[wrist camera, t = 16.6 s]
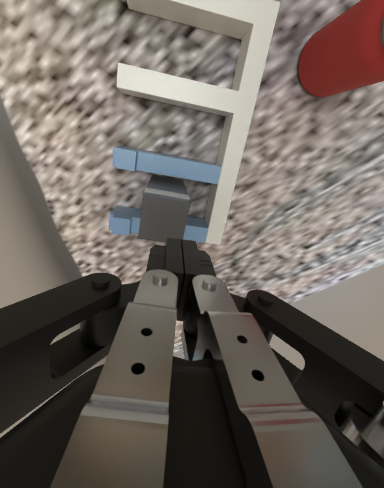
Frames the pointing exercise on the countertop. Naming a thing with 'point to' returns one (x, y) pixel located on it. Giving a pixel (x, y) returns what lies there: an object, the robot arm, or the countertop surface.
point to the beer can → (345, 51)
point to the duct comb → (201, 105)
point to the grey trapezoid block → (164, 209)
